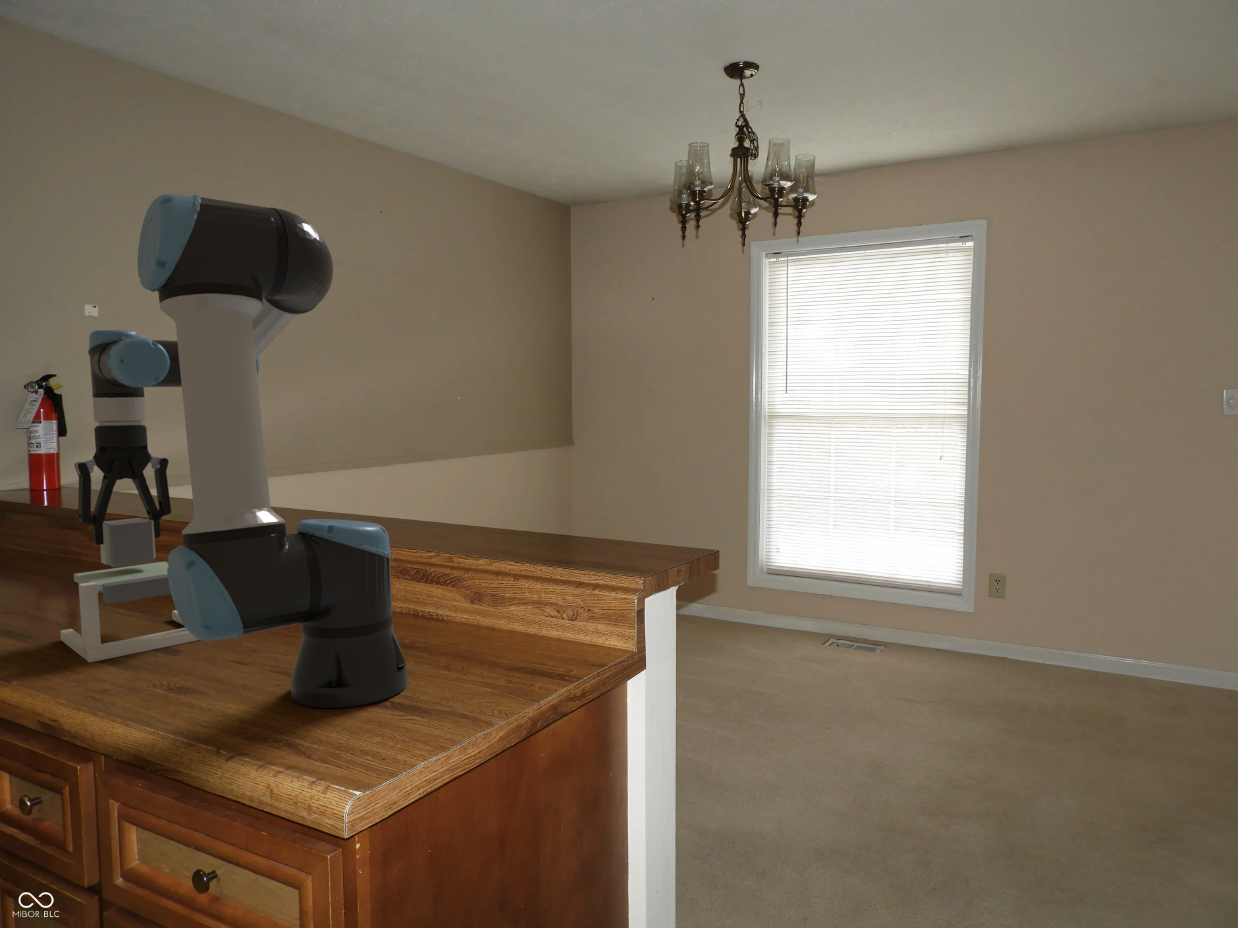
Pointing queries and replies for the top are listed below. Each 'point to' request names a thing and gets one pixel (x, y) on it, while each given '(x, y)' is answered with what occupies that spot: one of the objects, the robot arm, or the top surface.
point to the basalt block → (130, 542)
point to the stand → (96, 651)
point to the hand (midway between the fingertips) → (128, 560)
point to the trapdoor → (129, 582)
